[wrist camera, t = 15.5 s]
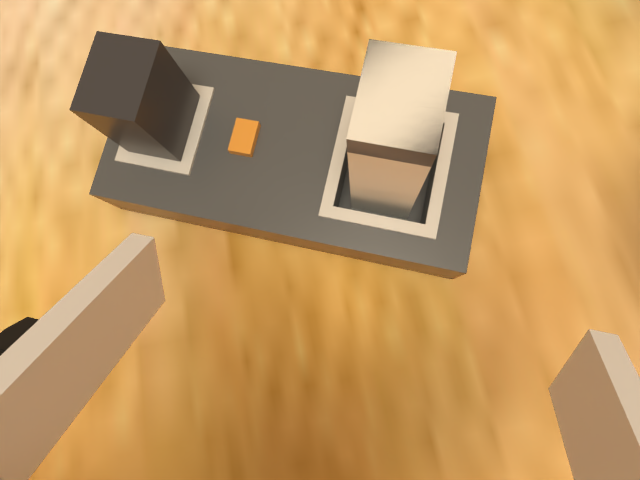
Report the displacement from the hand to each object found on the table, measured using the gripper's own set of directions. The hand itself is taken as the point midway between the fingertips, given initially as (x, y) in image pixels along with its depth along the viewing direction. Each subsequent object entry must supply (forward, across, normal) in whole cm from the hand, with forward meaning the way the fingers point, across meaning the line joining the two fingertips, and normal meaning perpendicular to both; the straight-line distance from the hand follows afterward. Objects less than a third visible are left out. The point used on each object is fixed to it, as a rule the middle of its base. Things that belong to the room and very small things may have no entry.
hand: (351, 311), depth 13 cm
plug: (+18, 0, -4) cm, 19 cm away
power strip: (+19, -7, -5) cm, 21 cm away
